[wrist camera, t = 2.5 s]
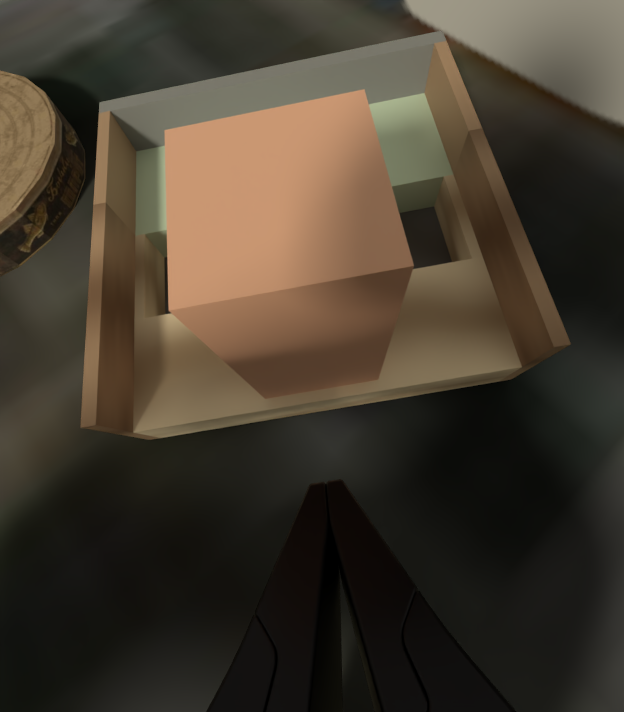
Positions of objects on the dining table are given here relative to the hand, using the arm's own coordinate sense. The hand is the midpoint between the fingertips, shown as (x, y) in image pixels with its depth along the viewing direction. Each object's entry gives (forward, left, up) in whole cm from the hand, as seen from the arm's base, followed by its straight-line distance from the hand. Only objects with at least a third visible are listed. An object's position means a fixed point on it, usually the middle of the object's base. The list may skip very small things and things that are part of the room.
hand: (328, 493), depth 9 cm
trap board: (+9, 0, -8) cm, 12 cm away
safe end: (+17, 0, -8) cm, 19 cm away
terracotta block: (+6, 0, -5) cm, 9 cm away
